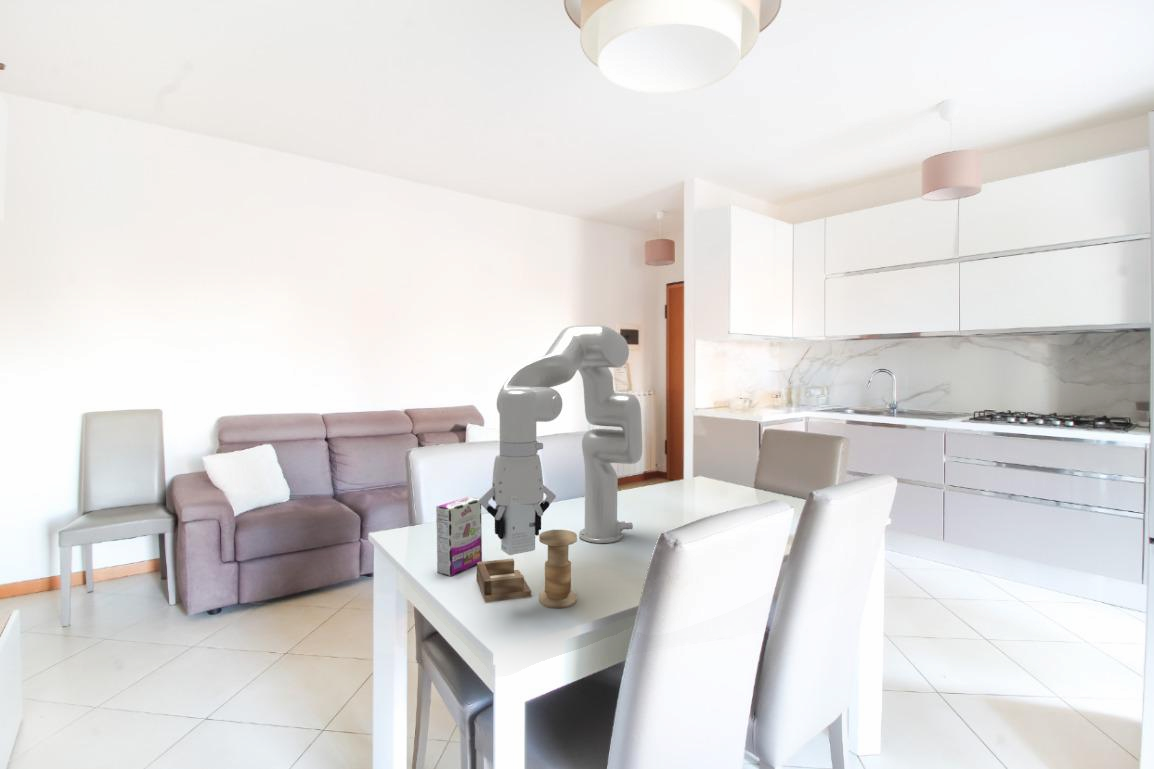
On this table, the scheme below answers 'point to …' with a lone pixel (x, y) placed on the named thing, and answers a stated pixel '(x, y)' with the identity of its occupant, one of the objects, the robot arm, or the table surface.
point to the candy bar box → (458, 536)
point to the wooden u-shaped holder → (501, 580)
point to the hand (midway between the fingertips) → (518, 534)
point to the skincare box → (518, 527)
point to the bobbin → (557, 569)
